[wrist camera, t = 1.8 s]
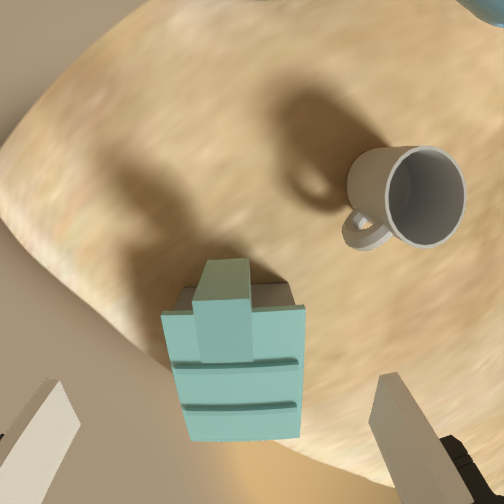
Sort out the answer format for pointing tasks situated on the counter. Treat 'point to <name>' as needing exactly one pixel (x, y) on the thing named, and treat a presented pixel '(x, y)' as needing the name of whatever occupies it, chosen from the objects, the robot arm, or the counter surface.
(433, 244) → the cup
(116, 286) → the counter surface
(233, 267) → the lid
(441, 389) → the counter surface
